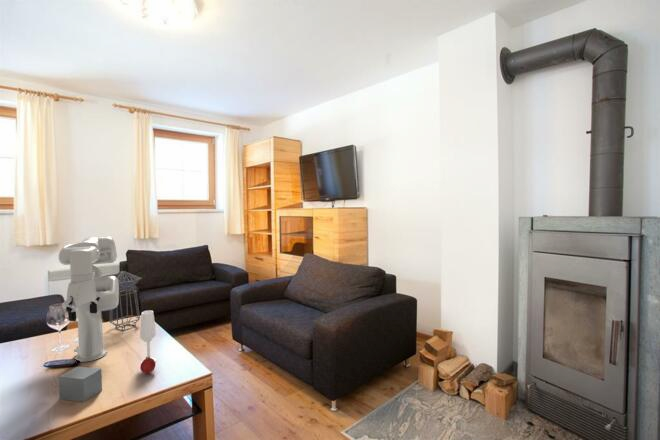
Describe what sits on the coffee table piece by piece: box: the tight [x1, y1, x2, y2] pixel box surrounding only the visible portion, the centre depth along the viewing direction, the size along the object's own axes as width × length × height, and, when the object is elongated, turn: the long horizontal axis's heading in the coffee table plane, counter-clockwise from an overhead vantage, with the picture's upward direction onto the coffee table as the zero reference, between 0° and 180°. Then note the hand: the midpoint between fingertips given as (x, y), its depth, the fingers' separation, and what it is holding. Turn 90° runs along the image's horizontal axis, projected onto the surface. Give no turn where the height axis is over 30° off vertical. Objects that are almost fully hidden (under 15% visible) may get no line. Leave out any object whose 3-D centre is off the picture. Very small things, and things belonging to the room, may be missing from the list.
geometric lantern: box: [109, 270, 143, 332], centre depth 194 cm, size 16×16×35 cm
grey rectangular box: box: [58, 366, 103, 403], centre depth 125 cm, size 11×8×9 cm
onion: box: [139, 356, 156, 375], centre depth 140 cm, size 6×6×8 cm
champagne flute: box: [139, 310, 158, 364], centre depth 151 cm, size 7×7×24 cm
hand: (83, 316), depth 138 cm, fingers open, 9 cm apart
